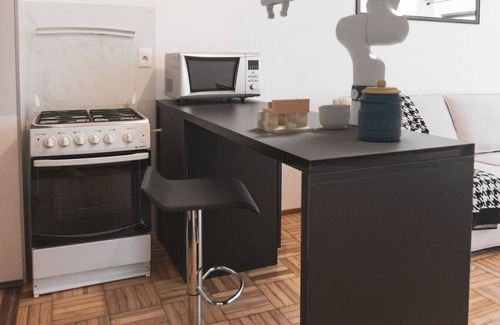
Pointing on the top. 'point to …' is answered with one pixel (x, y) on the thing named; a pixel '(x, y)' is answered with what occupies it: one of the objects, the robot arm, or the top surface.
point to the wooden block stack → (282, 122)
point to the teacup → (334, 116)
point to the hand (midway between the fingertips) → (277, 17)
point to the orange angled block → (289, 106)
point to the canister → (380, 114)
